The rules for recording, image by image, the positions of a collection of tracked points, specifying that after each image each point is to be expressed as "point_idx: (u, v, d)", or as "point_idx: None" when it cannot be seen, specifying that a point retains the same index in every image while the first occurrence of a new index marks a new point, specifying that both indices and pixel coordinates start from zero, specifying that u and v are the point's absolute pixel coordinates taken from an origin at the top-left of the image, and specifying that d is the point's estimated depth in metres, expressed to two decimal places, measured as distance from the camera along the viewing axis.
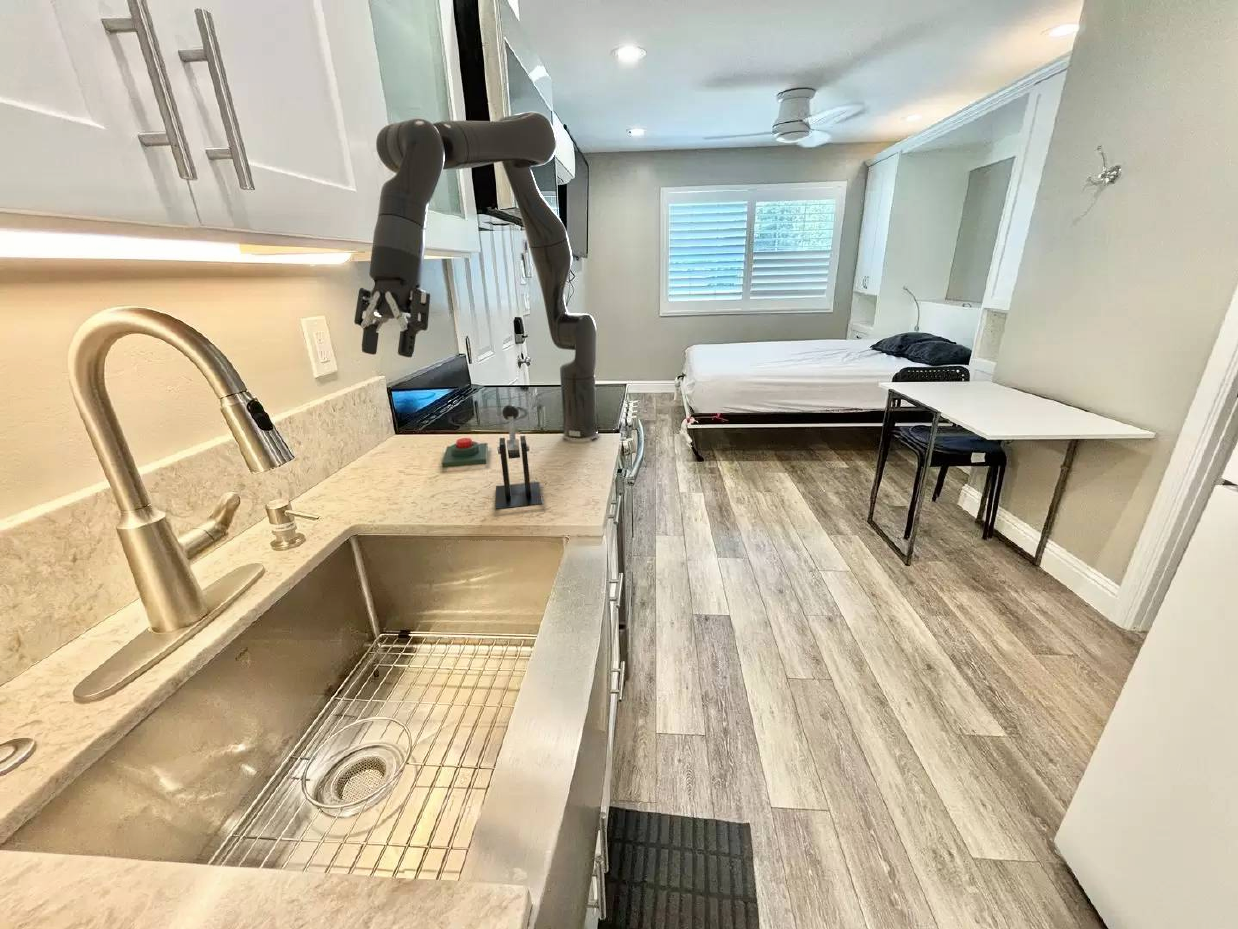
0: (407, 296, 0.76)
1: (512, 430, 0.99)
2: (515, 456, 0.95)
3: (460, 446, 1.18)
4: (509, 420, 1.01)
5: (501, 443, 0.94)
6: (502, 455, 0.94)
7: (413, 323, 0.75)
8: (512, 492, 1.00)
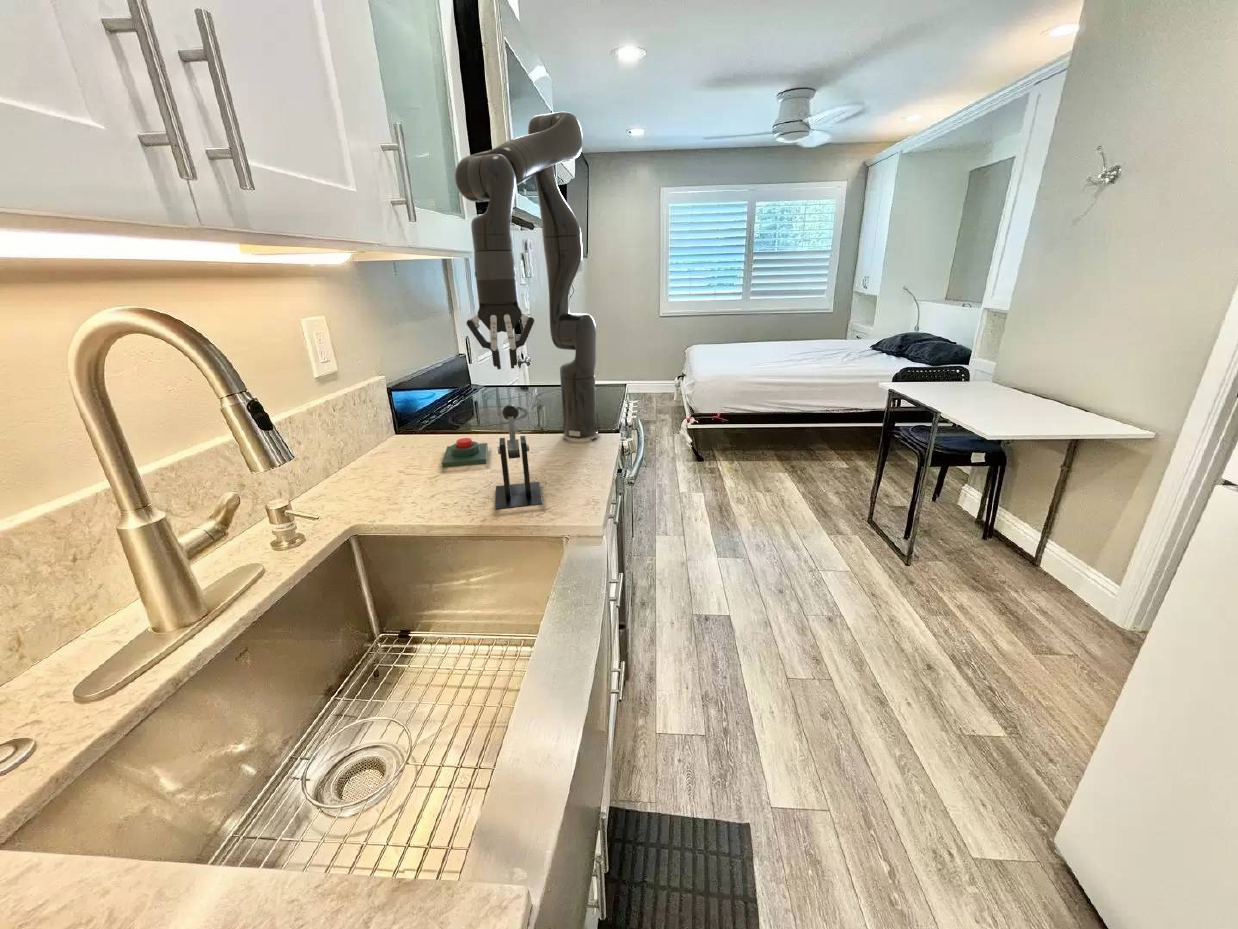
0: (521, 315, 0.96)
1: (512, 430, 0.99)
2: (515, 456, 0.95)
3: (460, 446, 1.18)
4: (509, 420, 1.01)
5: (501, 443, 0.94)
6: (502, 455, 0.94)
7: (522, 343, 0.98)
8: (512, 492, 1.00)
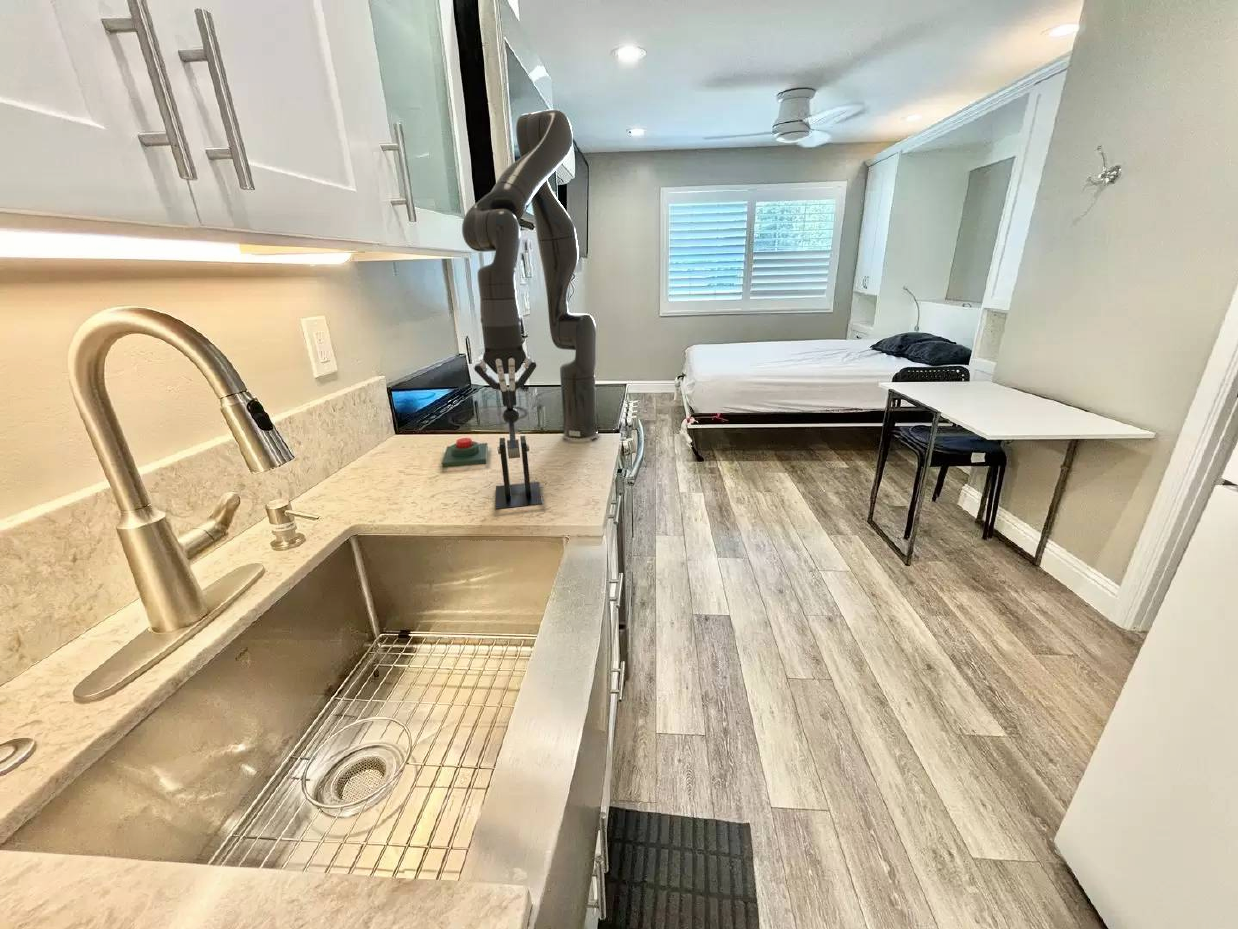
0: (525, 358, 0.99)
1: (512, 431, 0.99)
2: (515, 456, 0.95)
3: (460, 446, 1.18)
4: (509, 422, 1.01)
5: (501, 443, 0.94)
6: (502, 455, 0.94)
7: (521, 385, 1.01)
8: (512, 492, 1.00)
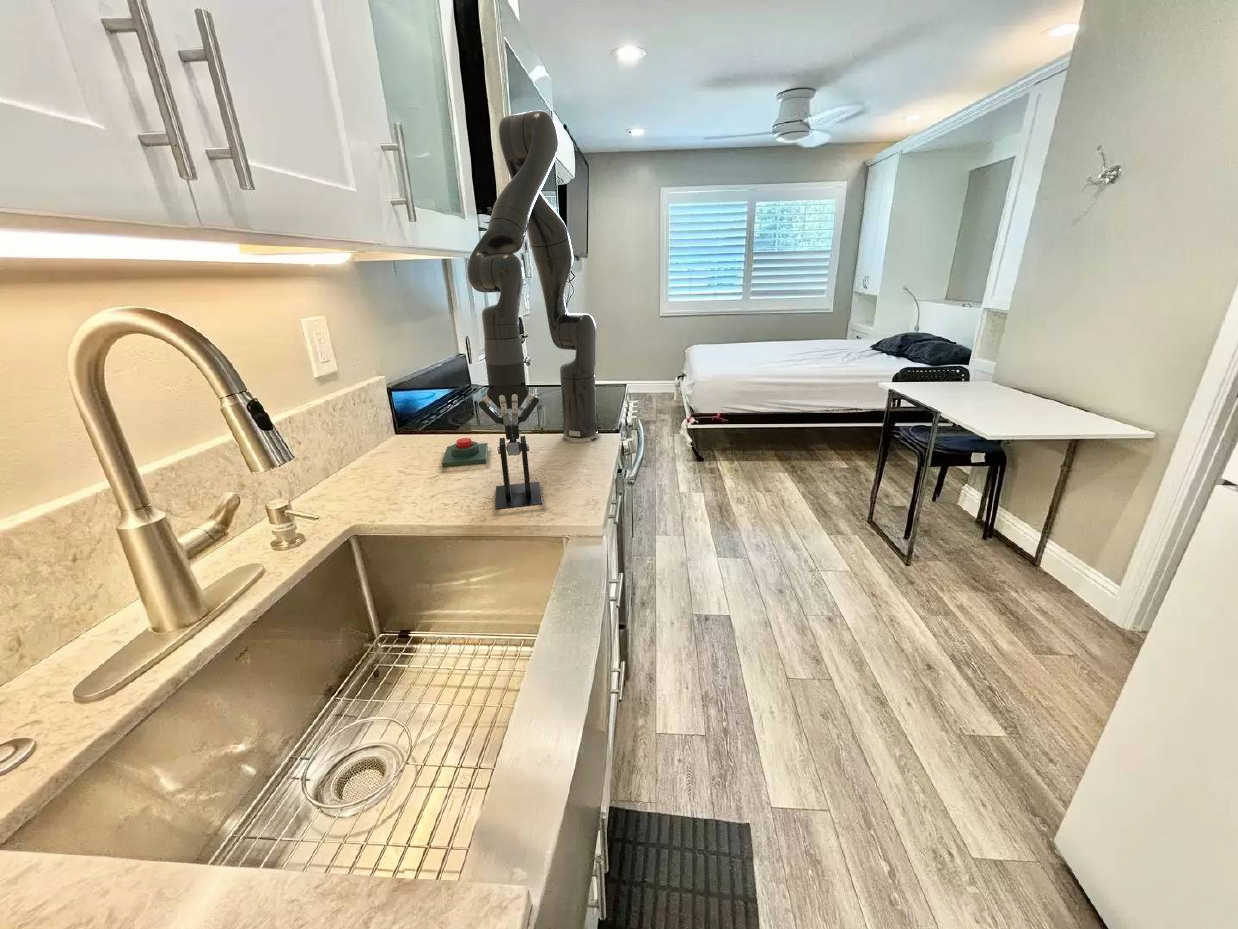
0: (528, 393, 1.02)
1: None
2: (515, 452, 0.95)
3: (460, 446, 1.18)
4: None
5: (501, 443, 0.94)
6: (502, 455, 0.94)
7: (524, 419, 1.03)
8: (512, 492, 1.00)
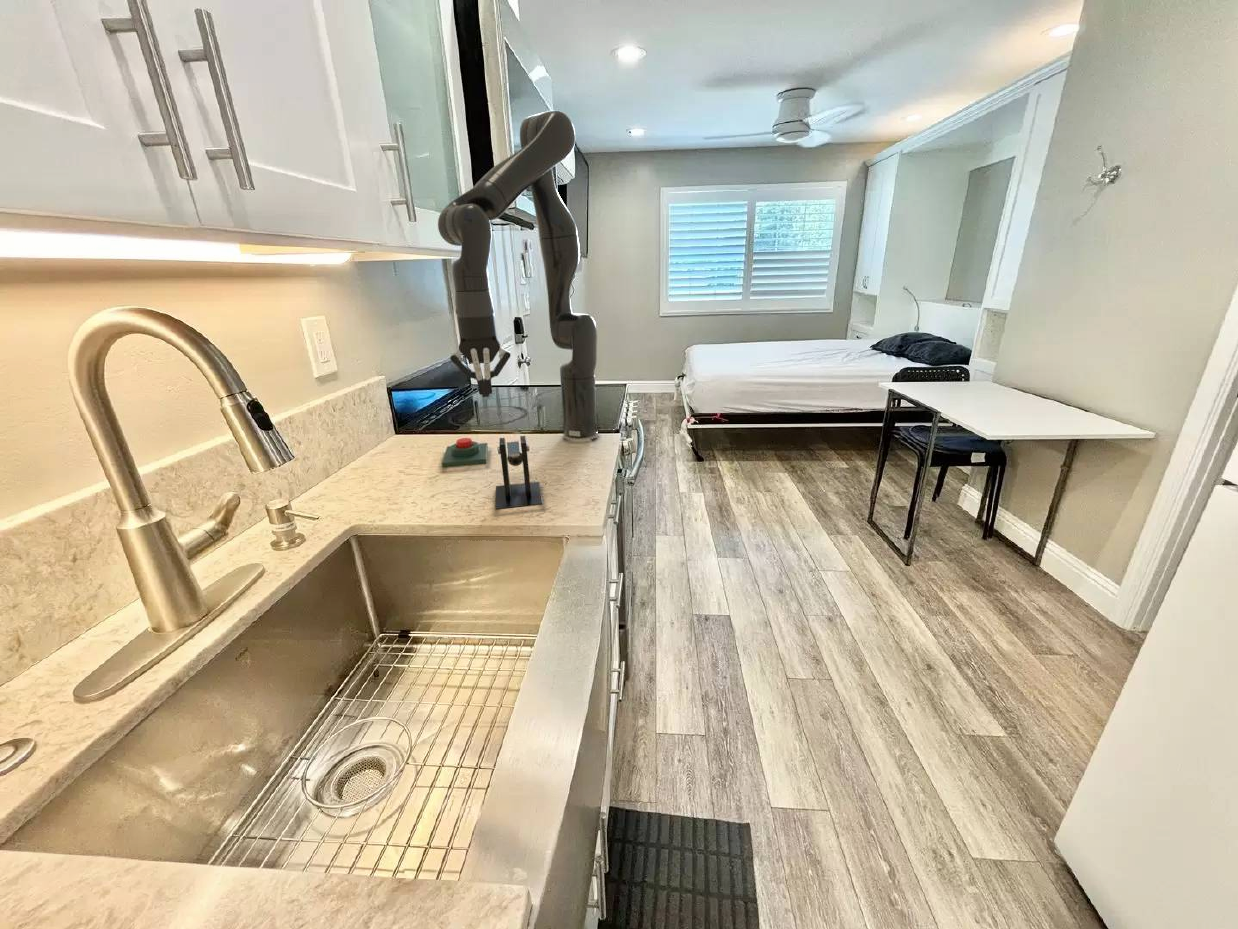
0: (499, 347, 1.04)
1: None
2: (515, 451, 0.94)
3: (460, 446, 1.18)
4: None
5: (501, 443, 0.94)
6: (502, 455, 0.94)
7: (496, 374, 1.05)
8: (512, 492, 1.00)
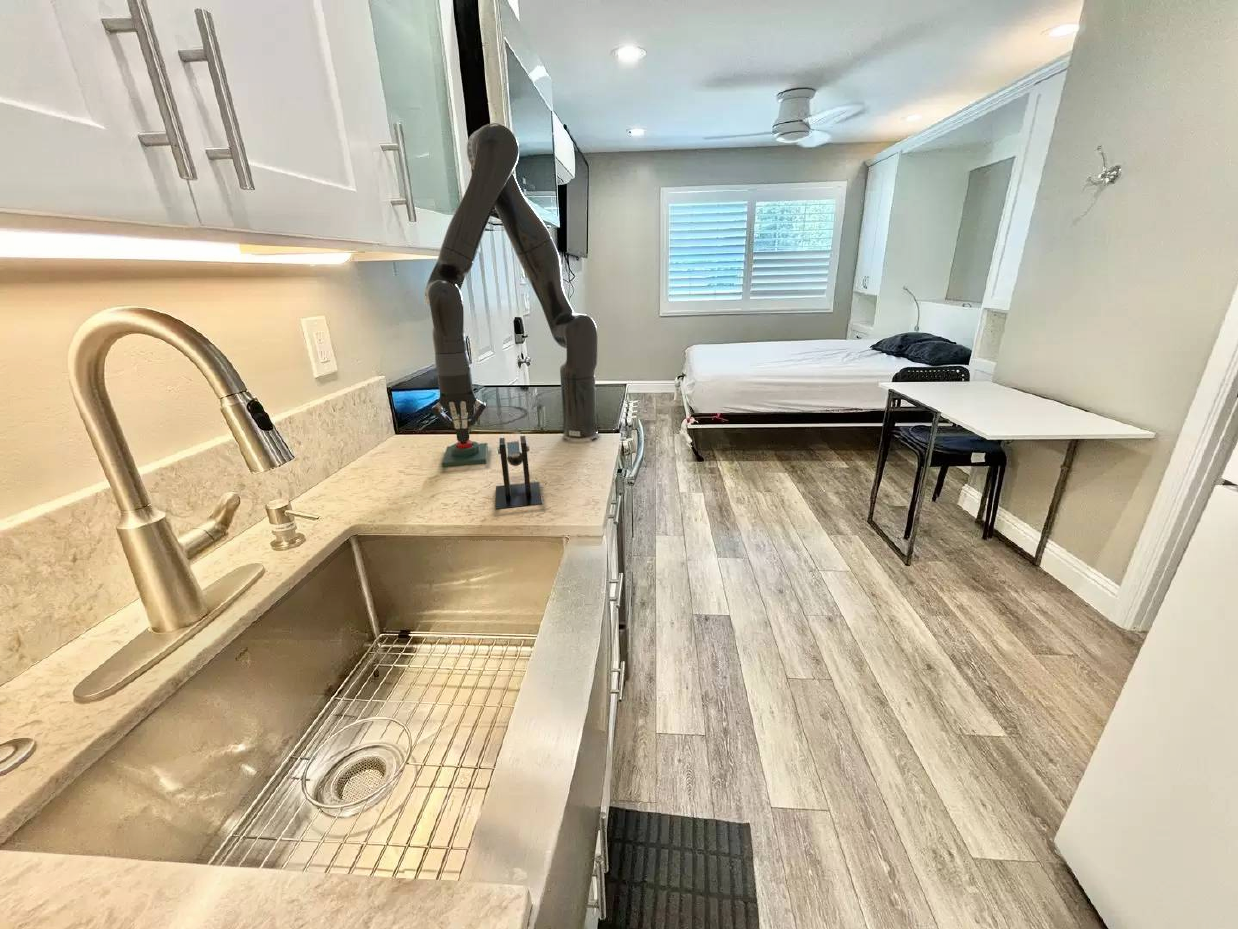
0: (475, 400, 1.16)
1: None
2: (515, 451, 0.94)
3: None
4: None
5: (501, 443, 0.94)
6: (502, 455, 0.94)
7: (473, 423, 1.17)
8: (512, 492, 1.00)
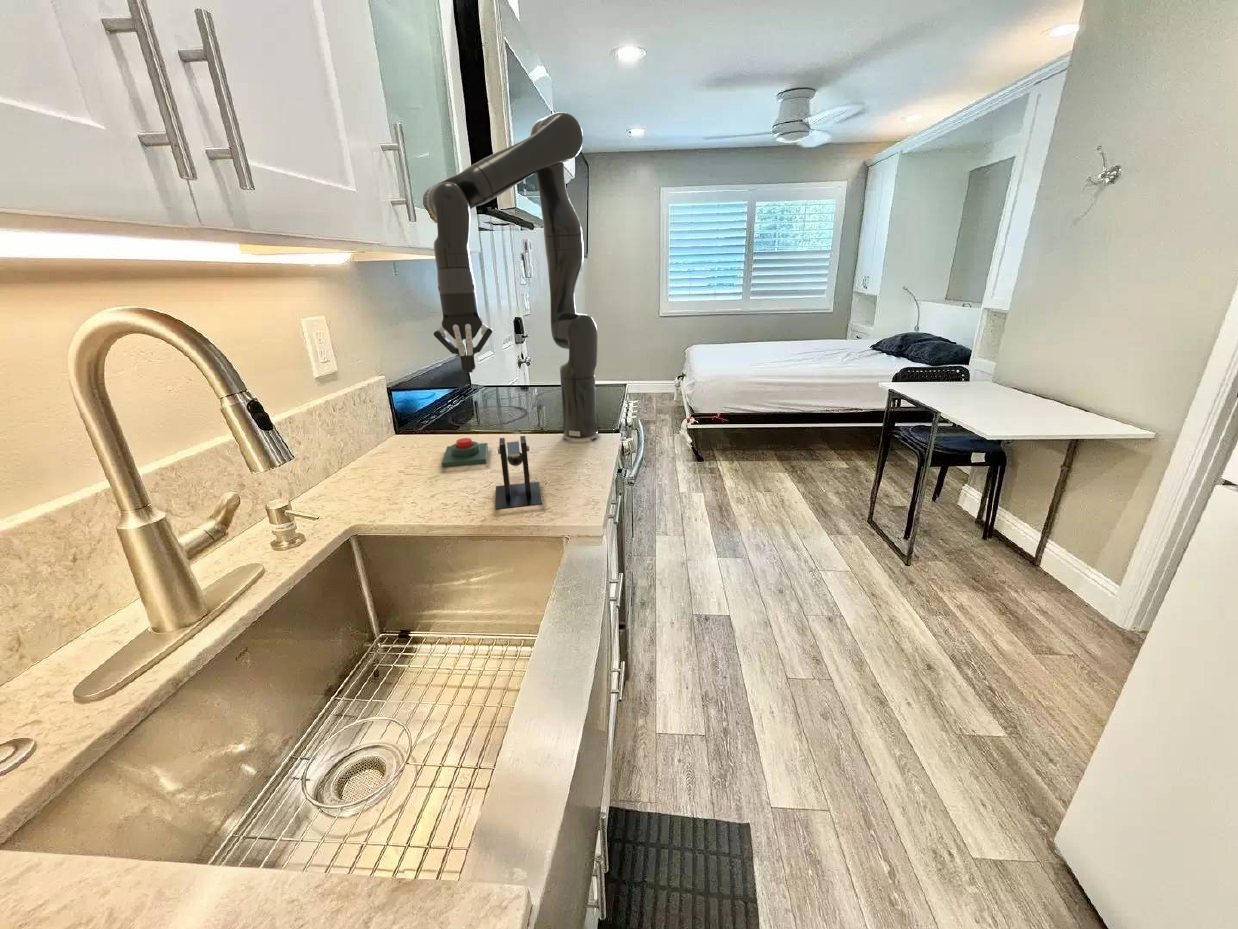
0: (481, 324, 1.07)
1: None
2: (515, 451, 0.94)
3: (460, 446, 1.18)
4: None
5: (501, 443, 0.94)
6: (502, 455, 0.94)
7: (479, 350, 1.08)
8: (512, 492, 1.00)
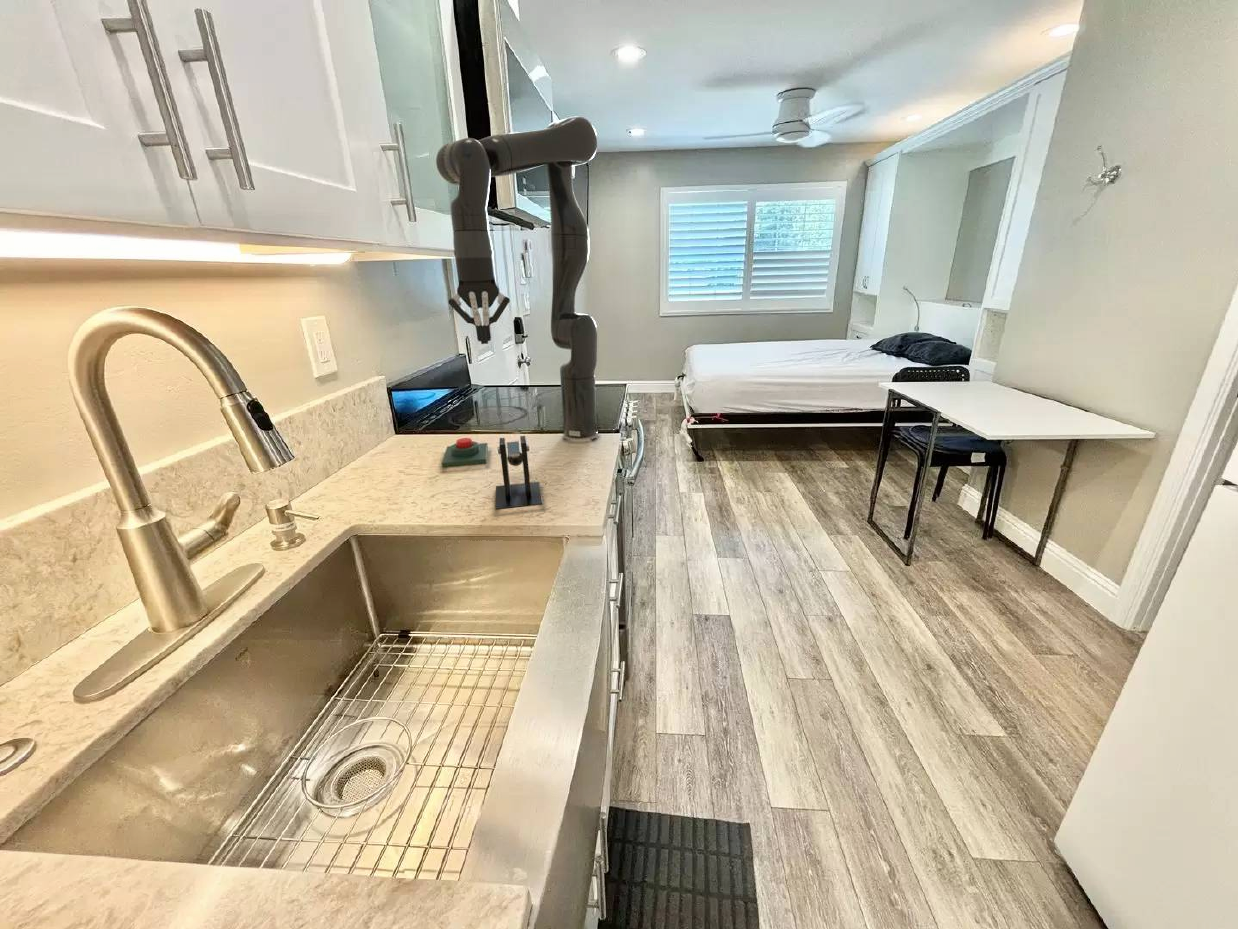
0: (498, 292, 1.02)
1: None
2: (515, 451, 0.94)
3: (460, 446, 1.18)
4: None
5: (501, 443, 0.94)
6: (502, 455, 0.94)
7: (495, 319, 1.03)
8: (512, 492, 1.00)
